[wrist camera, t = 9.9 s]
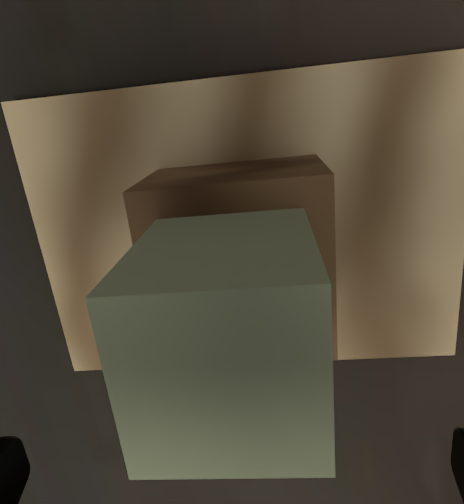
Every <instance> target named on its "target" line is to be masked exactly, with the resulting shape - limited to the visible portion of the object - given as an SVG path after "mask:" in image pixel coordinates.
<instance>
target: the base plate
mask: <svg viewBox="0 0 464 504" xmlns="http://www.w3.org/2000/svg"><path fill="white" fill-rule="evenodd" d="M1 105H2V109H3V112H4V116H5V120H6V123H7V127H8V131H9V134H10V138H11V142H12V145H13V149H14V152H15V156H16V160H17V163H18V167H19V171H20V174H21V178H22V182H23V185H24V189H25V193H26V196H27V200H28V203H29V207H30V211H31V214H32V218H33V222H34V225H35V229H36V233H37V236H38V240H39V244H40V247H41V251H42V254H43V258H44V262H45V265H46V269H47V273H48V276H49V280H50V284H51V287H52V291H53V295H54V298H55V302H56V305H57V309H58V313H59V316H60V320H61V324H62V327H63V331H64V335H65V338H66V342H67V346H68V349H69V353H70V356H71V360H72V364H73V367H74V371H84V370H102V366H101V362H100V358H99V354H98V350H97V346H96V341H95V337H94V333H93V329H92V325H91V321H90V317H89V313H88V309H87V305H86V301H85V297H86V296H87V295H88V294H89V293H90V292H91V291H92V290H93V289H94V288H95V286H96V285H97V284H98V283H99V282H100V281H101V280H102V279H103V278H104V277H105V275H106V274H107V273H108V272H109V271H110V270H111V269H112V268H113V267H114V266H115V264H116V263H117V262H118V261H119V260H120V259H121V258H122V257H123V256H124V254H125V253H126V252H127V251H128V250H129V249H130V248H131V247H132V246H133V245H134V243H135V242H136V241H137V240H138V239H139V238H140V237H141V236H142V235H143V234H144V232H145V231H146V230H147V229H148V228H149V227H150V226H151V225H152V224H153V223H154V221H155V220H156V219H167V218H179V217H192V216H205V215H217V214H230V213H243V212H256V211H268V210H281V209H294V208H304V209H305V212H306V214H307V217H308V220H309V223H310V226H311V228H312V231H313V234H314V237H315V240H316V242H317V245H318V248H319V251H320V254H321V256H322V259H323V262H324V265H325V268H326V270H327V273H328V276H329V279H330V282H331V298H332V345H333V360H348V359H372V358H396V357H420V356H444V355H455V348H456V338H457V327H458V316H459V305H460V295H461V284H462V273H463V263H464V49H456V50H448V51H439V52H430V53H422V54H413V55H404V56H396V57H387V58H379V59H370V60H361V61H353V62H344V63H335V64H327V65H318V66H310V67H301V68H292V69H284V70H275V71H267V72H258V73H249V74H241V75H232V76H223V77H215V78H206V79H198V80H189V81H180V82H172V83H163V84H154V85H146V86H137V87H129V88H120V89H111V90H103V91H94V92H85V93H77V94H68V95H60V96H51V97H42V98H34V99H25V100H17V101H8V102H1Z"/></svg>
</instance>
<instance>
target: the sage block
mask: <svg viewBox="0 0 464 504" xmlns="http://www.w3.org/2000/svg"><path fill="white" fill-rule="evenodd" d="M85 301H86V305H87V309H88V313H89V317H90V321H91V325H92V329H93V333H94V337H95V341H96V346H97V350H98V354H99V358H100V362H101V366H102V370H103V374H104V378H105V382H106V386H107V390H108V394H109V399H110V403H111V407H112V411H113V415H114V419H115V423H116V427H117V431H118V435H119V439H120V443H121V448H122V452H123V456H124V460H125V464H126V468H127V472H128V476H129V480H159V479H252V478H335V439H334V392H333V345H332V298H331V282H330V279H329V276H328V273H327V270H326V268H325V265H324V262H323V259H322V256H321V254H320V251H319V248H318V245H317V242H316V240H315V237H314V234H313V231H312V228H311V226H310V223H309V220H308V217H307V214H306V212H305V209H304V208H294V209H281V210H268V211H256V212H243V213H230V214H217V215H205V216H192V217H179V218H167V219H156V220H155V221H154V223H153V224H152V225H151V226H150V227H149V228H148V229H147V230H146V231H145V232H144V234H143V235H142V236H141V237H140V238H139V239H138V240H137V241H136V242H135V243H134V245H133V246H132V247H131V248H130V249H129V250H128V251H127V252H126V253H125V254H124V256H123V257H122V258H121V259H120V260H119V261H118V262H117V263H116V264H115V266H114V267H113V268H112V269H111V270H110V271H109V272H108V273H107V274H106V275H105V277H104V278H103V279H102V280H101V281H100V282H99V283H98V284H97V285H96V286H95V288H94V289H93V290H92V291H91V292H90V293H89V294H88V295H87V296H86V297H85Z"/></svg>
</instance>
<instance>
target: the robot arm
mask: <svg viewBox="0 0 464 504" xmlns="http://www.w3.org/2000/svg"><path fill="white" fill-rule="evenodd" d="M451 467H452V471H453V474H454V477H455V480H456V483H457V486H458V489H459V491H460V494H461V497H462V500H463V503H464V427H457V428H455V430H454V433H453V441H452V451H451ZM29 473H30V464H29V460H28V458H27V455H26V452H25V449H24V446H23V443H22V441H21V439H20V438H19V437H17V436H3V437H0V504H18V503H19V500H20V498H21V495H22V493H23V490H24V488H25V485H26V483H27V480H28V477H29Z"/></svg>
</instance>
